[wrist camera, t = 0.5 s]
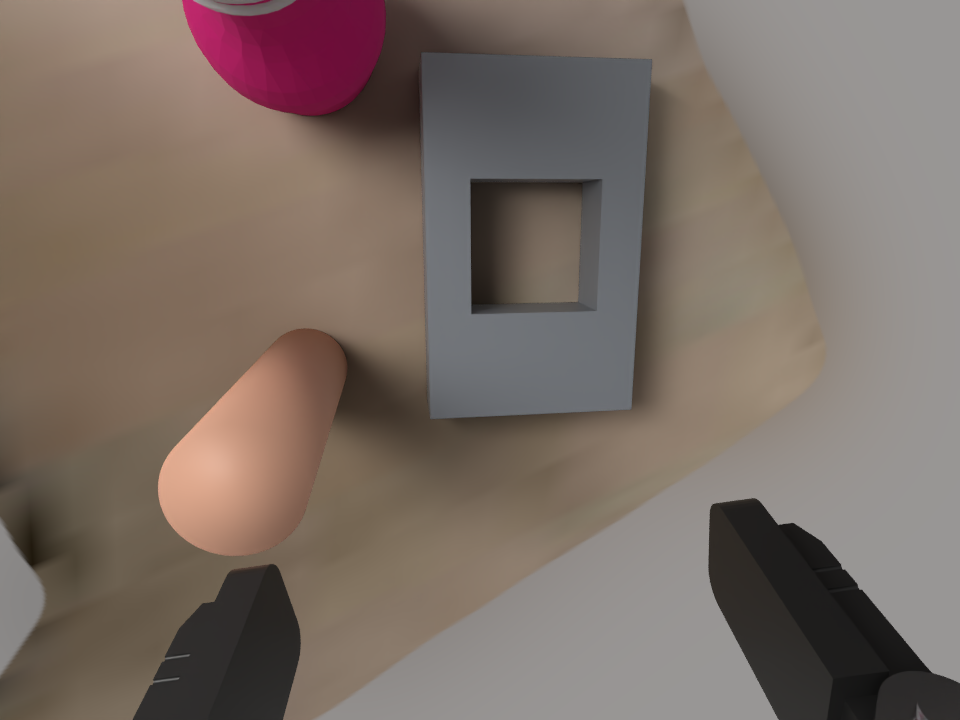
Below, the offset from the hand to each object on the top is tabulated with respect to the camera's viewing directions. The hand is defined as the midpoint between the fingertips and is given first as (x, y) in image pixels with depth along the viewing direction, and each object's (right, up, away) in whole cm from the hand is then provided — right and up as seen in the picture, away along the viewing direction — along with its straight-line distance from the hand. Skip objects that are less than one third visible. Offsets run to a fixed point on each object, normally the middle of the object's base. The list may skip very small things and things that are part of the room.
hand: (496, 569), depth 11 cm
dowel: (-9, +4, +19) cm, 21 cm away
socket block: (+2, +10, +19) cm, 22 cm away
